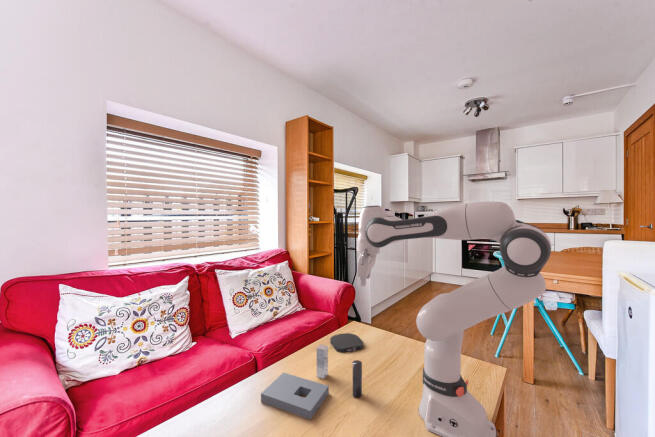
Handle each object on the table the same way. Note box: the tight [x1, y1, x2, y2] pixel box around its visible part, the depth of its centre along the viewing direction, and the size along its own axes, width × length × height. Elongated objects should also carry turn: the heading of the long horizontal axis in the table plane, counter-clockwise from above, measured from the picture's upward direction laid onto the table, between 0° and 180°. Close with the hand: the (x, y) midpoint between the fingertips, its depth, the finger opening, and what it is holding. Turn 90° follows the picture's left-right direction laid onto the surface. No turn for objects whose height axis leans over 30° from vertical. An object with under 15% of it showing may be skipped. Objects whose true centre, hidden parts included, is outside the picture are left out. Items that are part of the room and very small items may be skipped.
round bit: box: [352, 359, 363, 399], centre depth 101 cm, size 3×3×12 cm
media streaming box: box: [329, 332, 364, 354], centre depth 139 cm, size 15×15×3 cm
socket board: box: [260, 372, 330, 421], centre depth 99 cm, size 20×14×3 cm
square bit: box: [316, 344, 329, 380], centre depth 112 cm, size 3×3×12 cm
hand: (365, 281), depth 107 cm, fingers open, 8 cm apart
